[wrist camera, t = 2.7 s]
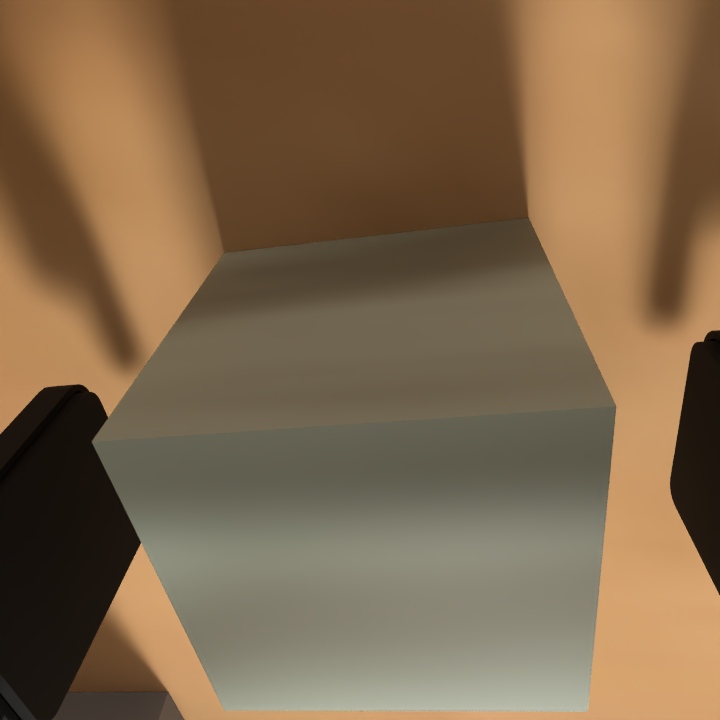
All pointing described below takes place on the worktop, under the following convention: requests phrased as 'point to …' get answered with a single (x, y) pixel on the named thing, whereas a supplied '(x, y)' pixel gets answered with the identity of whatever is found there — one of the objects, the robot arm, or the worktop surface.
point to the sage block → (376, 475)
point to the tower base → (118, 706)
